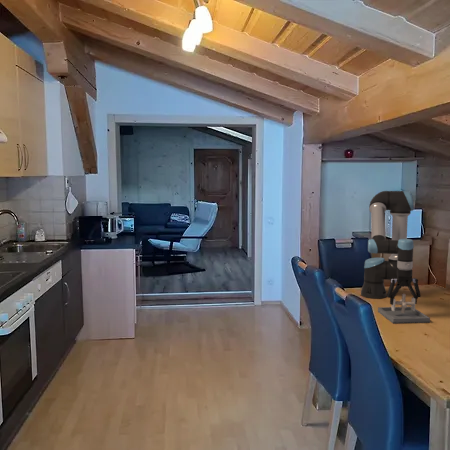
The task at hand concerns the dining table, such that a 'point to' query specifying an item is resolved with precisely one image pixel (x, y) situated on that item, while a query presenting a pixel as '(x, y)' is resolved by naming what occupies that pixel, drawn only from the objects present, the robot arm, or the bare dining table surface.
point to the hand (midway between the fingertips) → (403, 310)
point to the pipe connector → (403, 303)
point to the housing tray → (403, 315)
